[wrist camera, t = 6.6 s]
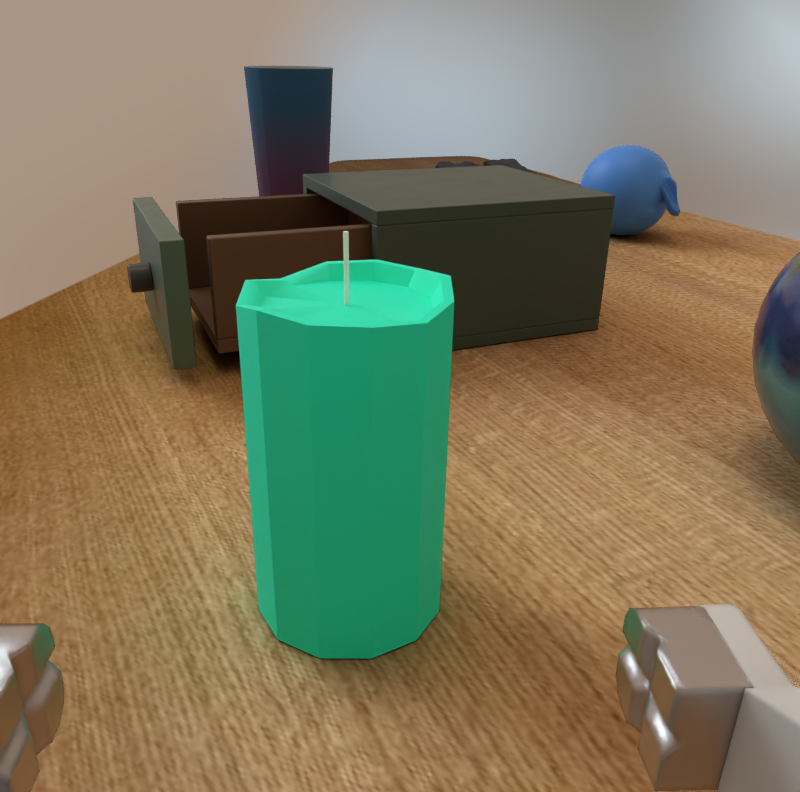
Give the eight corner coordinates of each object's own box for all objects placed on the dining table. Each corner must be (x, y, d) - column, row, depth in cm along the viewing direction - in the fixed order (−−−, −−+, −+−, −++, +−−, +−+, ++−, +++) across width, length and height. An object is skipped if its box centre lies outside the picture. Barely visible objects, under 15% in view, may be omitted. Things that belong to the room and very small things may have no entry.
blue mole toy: (716, 235, 76) (733, 147, 72) (644, 251, 69) (659, 155, 66) (618, 215, 84) (629, 136, 81) (545, 228, 78) (553, 141, 74)
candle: (411, 530, 28) (420, 207, 23) (467, 640, 23) (494, 253, 18) (250, 554, 27) (222, 213, 22) (270, 677, 22) (239, 266, 17)
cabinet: (376, 361, 44) (376, 211, 40) (306, 295, 55) (302, 173, 52) (598, 329, 50) (615, 195, 46) (493, 276, 61) (501, 165, 57)
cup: (291, 244, 69) (283, 65, 63) (351, 255, 66) (350, 67, 60) (239, 259, 64) (225, 66, 58) (301, 272, 61) (294, 68, 55)
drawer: (150, 373, 39) (133, 243, 37) (126, 304, 50) (112, 198, 47) (424, 336, 45) (427, 221, 42) (352, 281, 55) (351, 186, 53)
